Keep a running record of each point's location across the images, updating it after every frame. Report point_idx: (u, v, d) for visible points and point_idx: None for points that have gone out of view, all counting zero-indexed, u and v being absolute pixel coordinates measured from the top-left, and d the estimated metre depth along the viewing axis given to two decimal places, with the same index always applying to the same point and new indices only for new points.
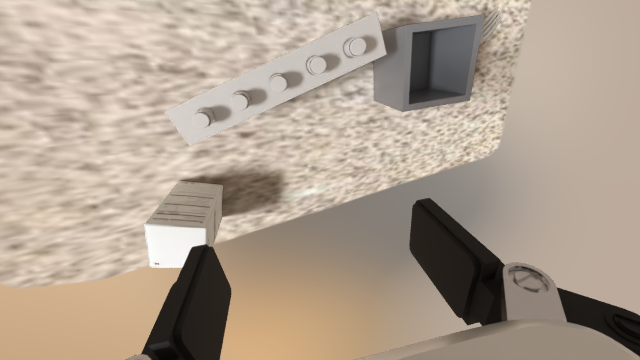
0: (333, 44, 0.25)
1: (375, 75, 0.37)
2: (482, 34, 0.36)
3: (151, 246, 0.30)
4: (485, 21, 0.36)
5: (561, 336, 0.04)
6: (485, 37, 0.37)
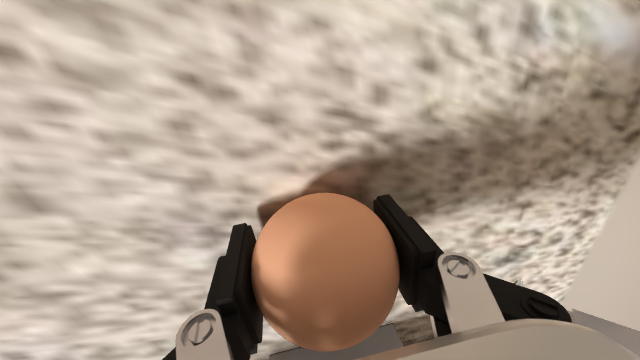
0: None
1: None
2: None
3: None
4: None
5: (561, 336, 0.04)
6: None
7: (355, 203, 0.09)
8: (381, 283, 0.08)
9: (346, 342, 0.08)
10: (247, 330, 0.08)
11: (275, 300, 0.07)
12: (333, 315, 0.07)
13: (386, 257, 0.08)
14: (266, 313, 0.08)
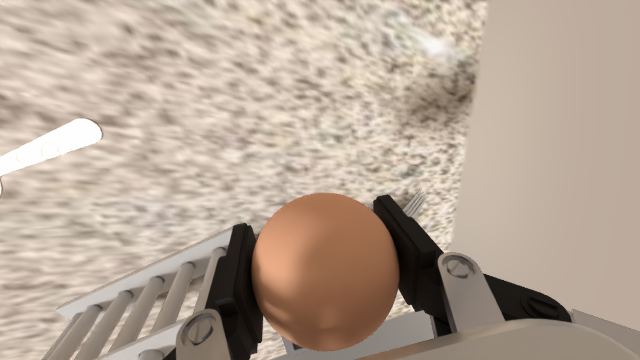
0: (169, 338, 0.20)
1: None
2: None
3: None
4: (404, 210, 0.30)
5: (561, 336, 0.04)
6: None
7: (355, 203, 0.09)
8: (382, 283, 0.08)
9: (346, 342, 0.08)
10: (247, 330, 0.08)
11: (275, 300, 0.07)
12: (332, 315, 0.07)
13: (386, 257, 0.08)
14: (266, 313, 0.08)
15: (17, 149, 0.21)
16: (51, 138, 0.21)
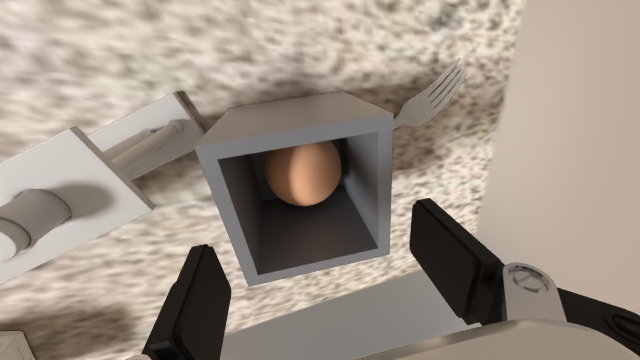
0: None
1: None
2: (431, 105, 0.21)
3: None
4: (435, 84, 0.20)
5: (561, 336, 0.04)
6: (437, 109, 0.21)
7: None
8: (329, 161, 0.17)
9: (315, 189, 0.16)
10: None
11: (281, 170, 0.16)
12: (308, 172, 0.16)
13: (332, 152, 0.17)
14: (276, 181, 0.17)
15: None
16: None
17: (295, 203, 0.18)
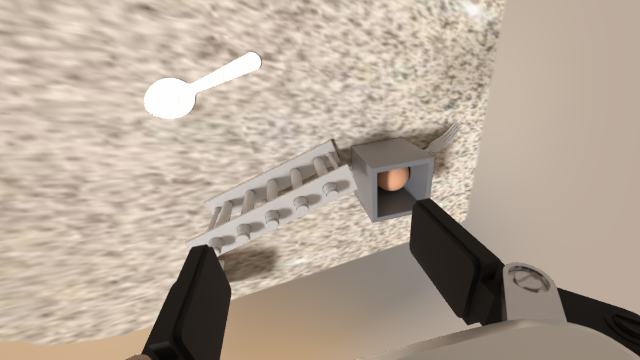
0: (314, 188, 0.32)
1: (354, 176, 0.44)
2: (444, 142, 0.43)
3: None
4: (446, 133, 0.43)
5: (561, 336, 0.04)
6: (447, 144, 0.43)
7: None
8: (408, 169, 0.40)
9: (404, 181, 0.39)
10: None
11: (391, 175, 0.38)
12: (402, 175, 0.39)
13: None
14: (388, 180, 0.39)
15: (210, 74, 0.33)
16: (231, 66, 0.33)
17: (393, 189, 0.40)
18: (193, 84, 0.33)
